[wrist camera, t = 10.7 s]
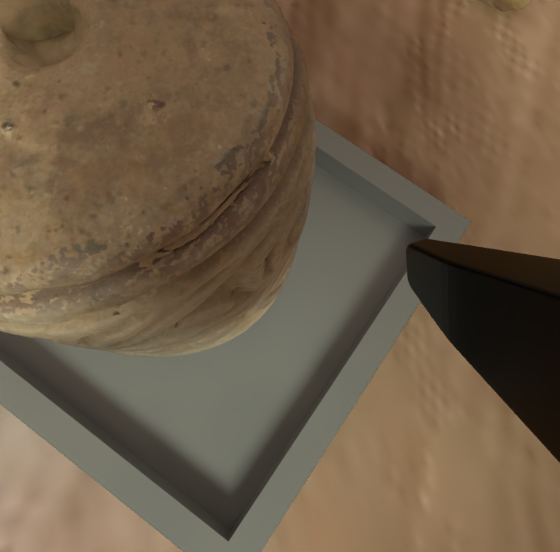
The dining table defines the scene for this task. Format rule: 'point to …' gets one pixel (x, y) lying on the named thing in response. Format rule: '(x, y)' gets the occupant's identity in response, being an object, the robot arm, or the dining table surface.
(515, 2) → the pastry
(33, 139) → the carving
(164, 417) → the tray
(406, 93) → the dining table surface
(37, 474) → the dining table surface
